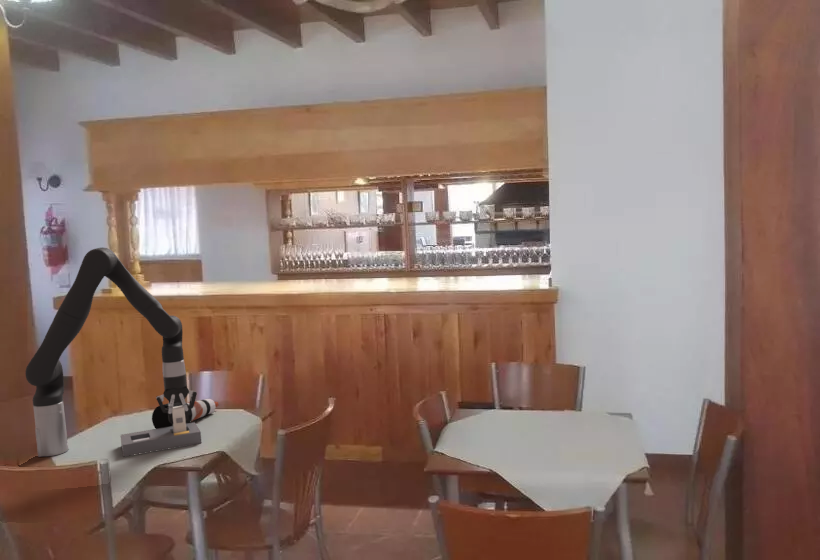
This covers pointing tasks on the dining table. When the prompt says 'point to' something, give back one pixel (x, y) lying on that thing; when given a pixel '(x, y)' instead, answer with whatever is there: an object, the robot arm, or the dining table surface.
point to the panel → (159, 439)
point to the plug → (178, 419)
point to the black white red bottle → (196, 412)
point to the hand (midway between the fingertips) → (179, 422)
